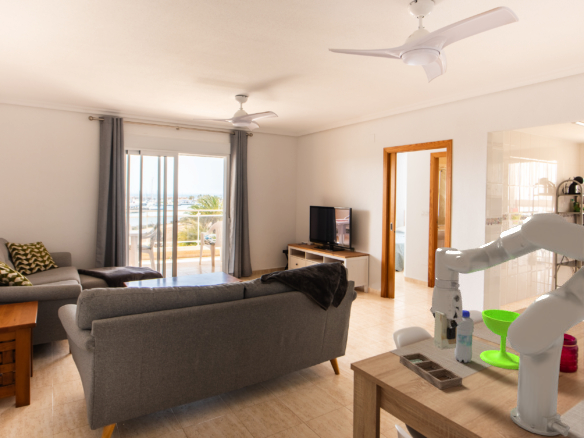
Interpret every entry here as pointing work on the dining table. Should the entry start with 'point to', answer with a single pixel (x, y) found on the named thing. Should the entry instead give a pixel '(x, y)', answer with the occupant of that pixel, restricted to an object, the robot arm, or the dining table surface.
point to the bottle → (464, 338)
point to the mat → (415, 360)
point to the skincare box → (442, 332)
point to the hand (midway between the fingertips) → (445, 335)
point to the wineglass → (499, 325)
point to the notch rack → (431, 375)
